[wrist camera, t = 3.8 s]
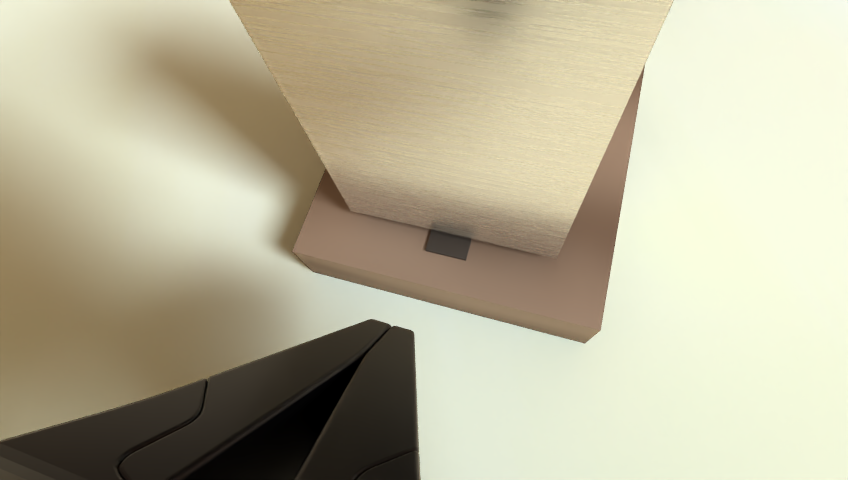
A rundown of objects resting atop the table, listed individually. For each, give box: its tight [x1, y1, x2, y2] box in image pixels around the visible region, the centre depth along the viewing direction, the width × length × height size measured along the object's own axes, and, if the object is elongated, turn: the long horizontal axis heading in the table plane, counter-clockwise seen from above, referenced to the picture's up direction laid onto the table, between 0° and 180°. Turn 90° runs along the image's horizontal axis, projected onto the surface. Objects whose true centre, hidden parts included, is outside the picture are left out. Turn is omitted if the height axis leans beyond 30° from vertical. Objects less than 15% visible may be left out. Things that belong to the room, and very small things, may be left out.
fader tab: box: [229, 0, 674, 259], centre depth 8 cm, size 3×7×12 cm, turn 74°
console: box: [292, 65, 645, 343], centre depth 16 cm, size 18×9×5 cm, turn 164°
